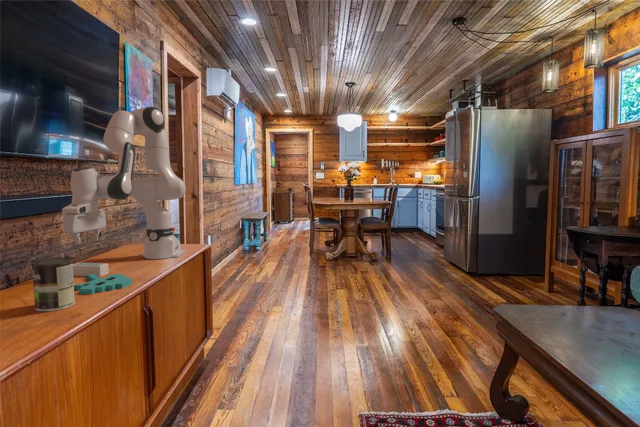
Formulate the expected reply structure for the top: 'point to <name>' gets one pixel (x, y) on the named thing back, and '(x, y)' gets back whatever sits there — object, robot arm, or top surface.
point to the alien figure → (103, 283)
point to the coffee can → (53, 284)
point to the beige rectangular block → (90, 269)
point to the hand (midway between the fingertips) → (87, 242)
